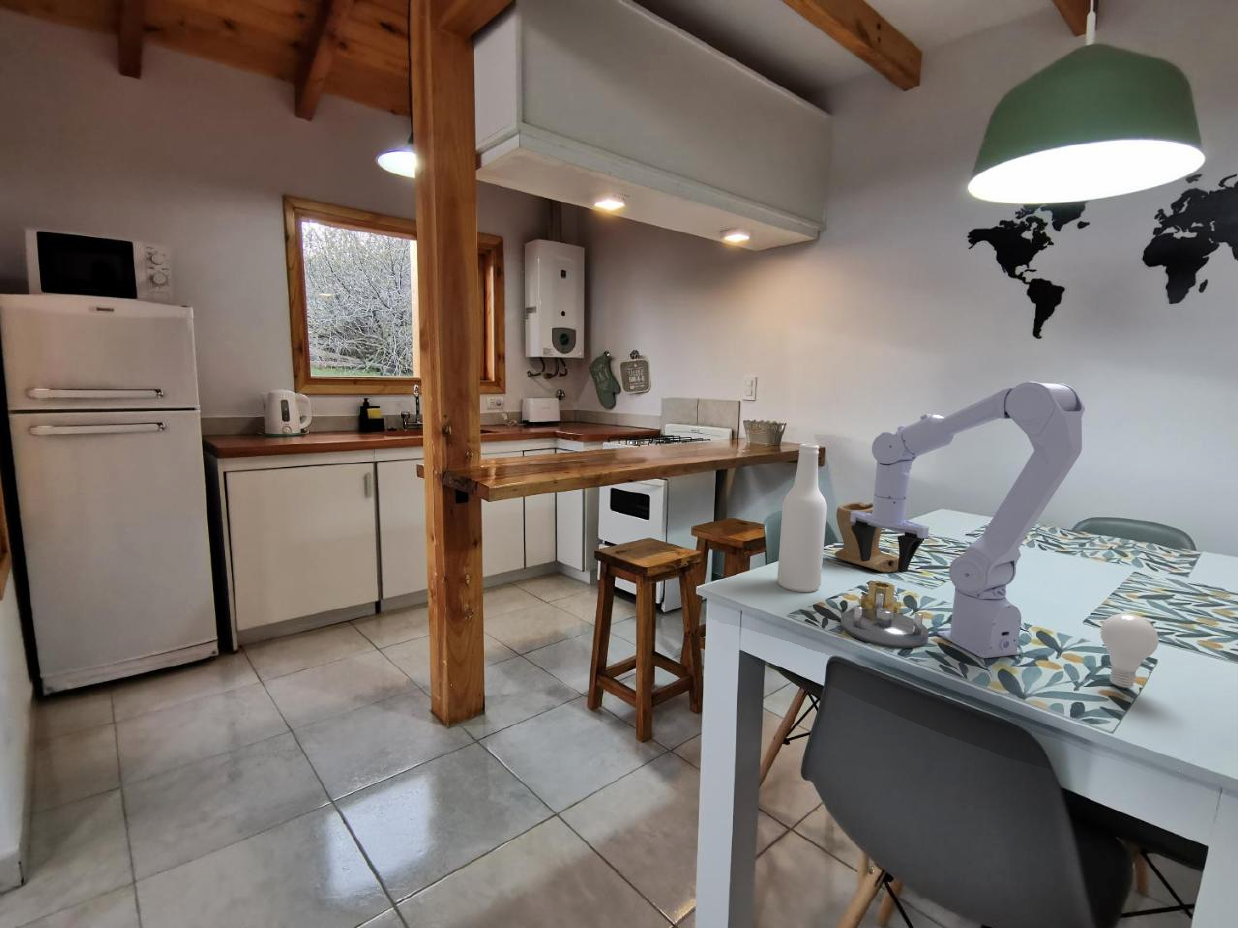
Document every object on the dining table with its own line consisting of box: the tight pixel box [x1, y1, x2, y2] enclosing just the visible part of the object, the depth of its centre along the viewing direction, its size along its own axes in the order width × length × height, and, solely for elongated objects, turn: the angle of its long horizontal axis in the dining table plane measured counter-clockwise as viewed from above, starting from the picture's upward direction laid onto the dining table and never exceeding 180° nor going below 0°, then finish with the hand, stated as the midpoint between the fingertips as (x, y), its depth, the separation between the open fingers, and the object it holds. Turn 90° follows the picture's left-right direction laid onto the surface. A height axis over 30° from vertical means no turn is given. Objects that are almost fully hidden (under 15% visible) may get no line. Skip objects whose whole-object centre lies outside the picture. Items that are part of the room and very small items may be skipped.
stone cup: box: [834, 501, 899, 573], centre depth 142 cm, size 15×12×15 cm
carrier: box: [840, 593, 929, 649], centre depth 105 cm, size 14×14×5 cm
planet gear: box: [858, 580, 902, 614], centre depth 115 cm, size 7×7×4 cm
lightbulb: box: [1100, 612, 1159, 690], centre depth 86 cm, size 6×6×11 cm
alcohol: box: [776, 443, 828, 593], centre depth 125 cm, size 9×9×30 cm
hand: (883, 566), depth 115 cm, fingers open, 7 cm apart
